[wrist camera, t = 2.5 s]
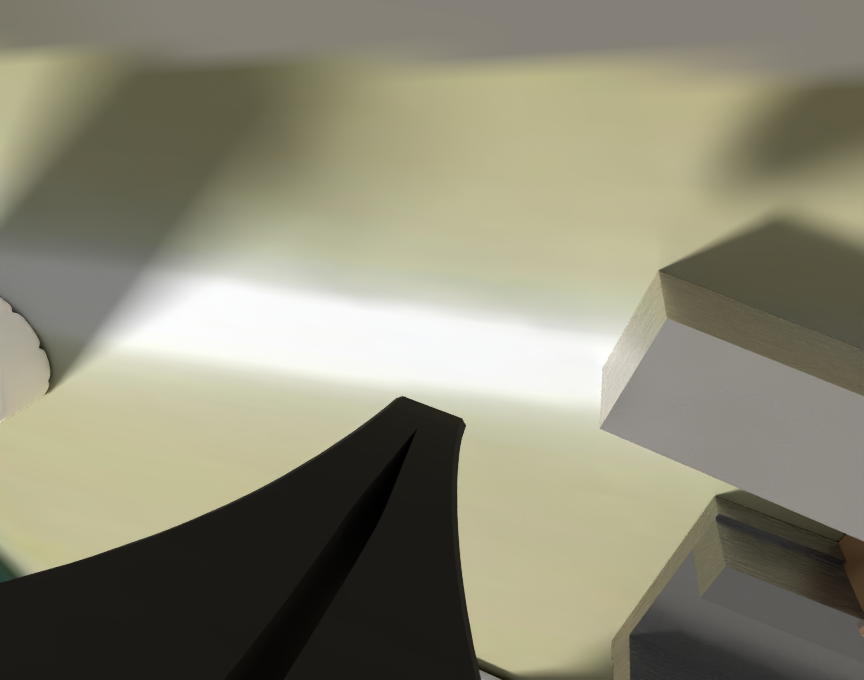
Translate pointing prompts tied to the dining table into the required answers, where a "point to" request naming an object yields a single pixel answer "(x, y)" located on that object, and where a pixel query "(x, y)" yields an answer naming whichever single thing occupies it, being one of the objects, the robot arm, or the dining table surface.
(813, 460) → the grey rectangular bar
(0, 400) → the water bottle
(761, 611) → the block
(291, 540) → the robot arm
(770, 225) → the dining table surface
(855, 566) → the wooden blocks
